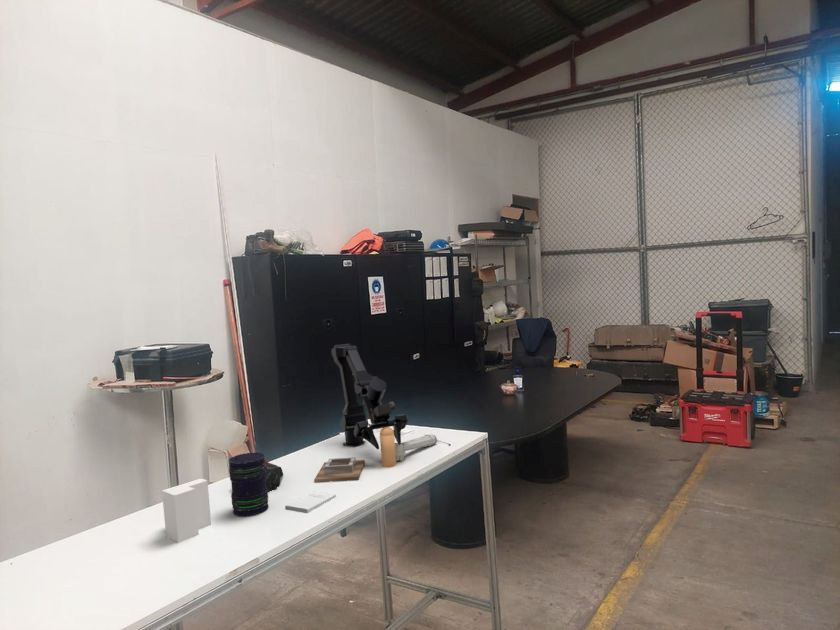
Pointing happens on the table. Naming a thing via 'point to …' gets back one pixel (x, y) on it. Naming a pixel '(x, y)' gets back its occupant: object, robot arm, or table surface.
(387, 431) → the ball
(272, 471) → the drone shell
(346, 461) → the jig
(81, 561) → the table surface
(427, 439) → the grey cylindrical tool
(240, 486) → the storage jar
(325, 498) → the external hard drive
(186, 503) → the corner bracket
